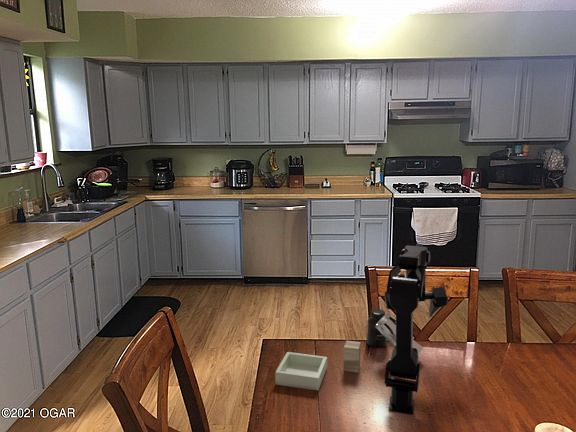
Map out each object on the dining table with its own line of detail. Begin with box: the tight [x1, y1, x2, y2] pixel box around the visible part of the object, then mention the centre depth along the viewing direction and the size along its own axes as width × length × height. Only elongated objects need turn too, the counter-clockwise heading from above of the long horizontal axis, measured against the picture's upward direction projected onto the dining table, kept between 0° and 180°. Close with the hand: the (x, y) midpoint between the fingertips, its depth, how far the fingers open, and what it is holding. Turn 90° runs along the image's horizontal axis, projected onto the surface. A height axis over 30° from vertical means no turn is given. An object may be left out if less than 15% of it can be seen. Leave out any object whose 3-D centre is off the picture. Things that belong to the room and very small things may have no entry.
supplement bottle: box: [366, 308, 388, 348], centre depth 167 cm, size 7×7×12 cm
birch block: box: [343, 340, 361, 373], centre depth 151 cm, size 4×4×8 cm
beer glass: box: [376, 312, 423, 356], centre depth 157 cm, size 7×7×15 cm
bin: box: [274, 351, 328, 391], centre depth 147 cm, size 13×13×4 cm
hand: (415, 316), depth 156 cm, fingers open, 9 cm apart
